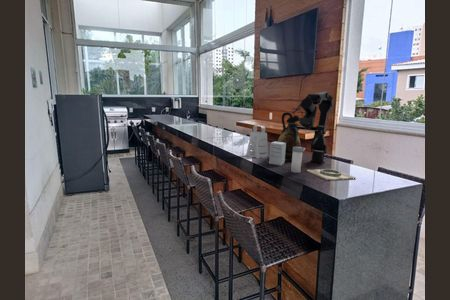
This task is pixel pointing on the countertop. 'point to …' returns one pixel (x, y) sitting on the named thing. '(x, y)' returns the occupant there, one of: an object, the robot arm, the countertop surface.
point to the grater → (258, 143)
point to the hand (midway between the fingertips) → (303, 143)
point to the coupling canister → (296, 159)
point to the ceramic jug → (289, 135)
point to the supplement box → (277, 153)
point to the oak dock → (330, 174)
